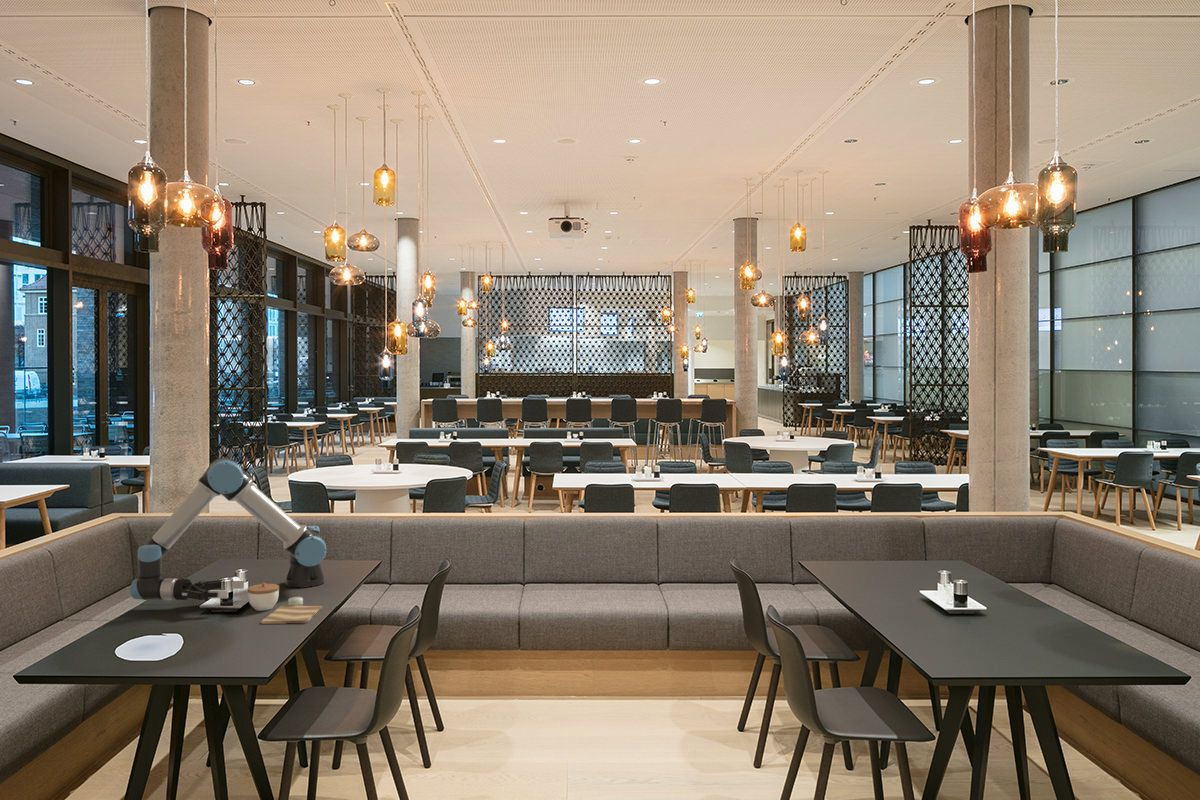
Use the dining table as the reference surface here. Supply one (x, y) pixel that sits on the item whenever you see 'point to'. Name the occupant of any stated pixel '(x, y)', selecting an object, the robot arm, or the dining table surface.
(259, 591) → the lidded jar
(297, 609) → the wooden cutting board
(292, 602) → the sage dish
